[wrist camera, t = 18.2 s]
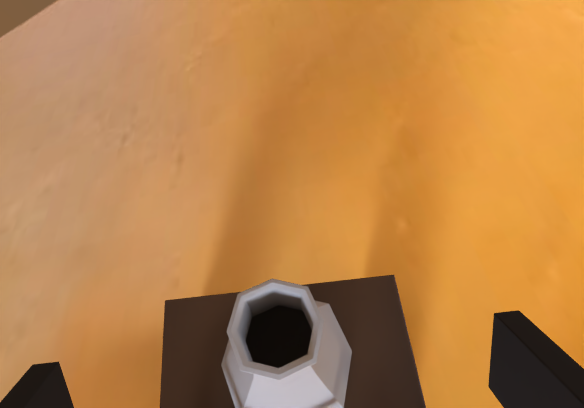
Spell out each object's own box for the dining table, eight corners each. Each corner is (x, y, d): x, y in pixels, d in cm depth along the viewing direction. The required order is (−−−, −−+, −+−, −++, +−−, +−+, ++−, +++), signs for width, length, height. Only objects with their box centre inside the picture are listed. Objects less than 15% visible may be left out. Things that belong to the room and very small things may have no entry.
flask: (221, 300, 23) (169, 235, 14) (341, 288, 23) (365, 215, 14) (222, 441, 19) (155, 473, 11) (363, 426, 20) (412, 444, 11)
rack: (374, 301, 29) (406, 257, 21) (406, 454, 25) (464, 482, 16) (194, 322, 29) (146, 286, 20) (192, 481, 24) (129, 525, 16)
